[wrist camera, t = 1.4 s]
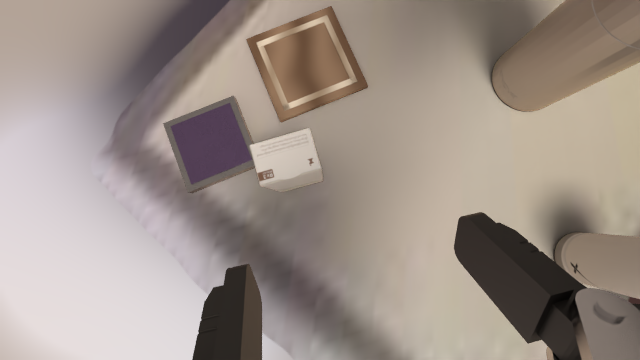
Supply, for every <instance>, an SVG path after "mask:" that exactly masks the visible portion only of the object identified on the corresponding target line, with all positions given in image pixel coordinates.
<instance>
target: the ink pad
mask: <svg viewBox="0 0 640 360" xmlns="http://www.w3.org/2000/svg"><path fill="white" fill-rule="evenodd" d="M163 124H164V127H165V130H166V132H167V135H168V138H169V141H170V144H171V146H172V149H173V152H174V155H175V158H176V160H177V163H178V166H179V169H180V172H181V174H182V177H183V180H184V183H185V186H186V188H187V191H188V193H194V192H197V191H199V190H202V189H204V188H206V187H209V186H211V185H214V184H216V183H219V182H221V181H224V180H226V179H228V178H231V177H233V176H236V175H238V174H241V173H243V172H246V171H248V170H250V169H253V168H255V165H254V161H253V157H252V154H251V150H250V145H251V144H254V143H253V141H252V138H251V135H250V133H249V130H248V128H247V125H246V123H245V120H244V118H243V115H242V113H241V110H240V108H239V105H238V103H237V100H236V98H235V97H234V96H231V97H229V98H226V99H224V100H221V101H219V102H216V103H214V104H211V105H209V106H206V107H204V108H201V109H199V110H196V111H194V112H191V113H189V114H186V115H184V116H181V117H179V118H176V119H173V120H171V121H168V122H166V123H163Z"/></svg>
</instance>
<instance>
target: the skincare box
mask: <svg viewBox="0 0 640 360" xmlns="http://www.w3.org/2000/svg"><path fill="white" fill-rule="evenodd" d="M250 150H251V154H252V157H253V161H254V165H255V169H256V173H257V177H258V181H259V185H260V186H261V187H265V188H269V189H272V190H276V191H279V192H285V191H289V190H292V189H296V188H300V187H303V186H307V185H311V184H314V183H318V182H322V181H323V172H322V166H321V163H320V160H319V157H318V154H317V150H316V147H315V143H314V140H313V136H312V132H311V129H310V128H306V129H302V130H299V131H296V132H292V133H289V134H285V135H282V136H279V137H275V138H272V139H268V140H265V141H262V142H258V143H255V144H251V145H250Z"/></svg>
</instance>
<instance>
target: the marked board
mask: <svg viewBox="0 0 640 360" xmlns="http://www.w3.org/2000/svg"><path fill="white" fill-rule="evenodd" d="M246 40H247V42H248V45H249V47H250V49H251V52H252V54H253V57H254V59H255V61H256V64H257V66H258V69H259V71H260V74H261V76H262V78H263V81H264V83H265V86H266V88H267V91H268V93H269V95H270V98H271V100H272V103H273V105H274V107H275V110H276V112H277V115H278V117H279V120H280V122H283V121H286V120H288V119H291V118H293V117H296V116H298V115H301V114H303V113H305V112H308V111H310V110H313V109H315V108H318V107H320V106H323V105H325V104H328V103H330V102H333V101H335V100H338V99H340V98H343V97H345V96H348V95H350V94H353V93H355V92H357V91H360V90H362V89H365V88H367V87H368V85H367V83H366V80H365V78H364V76H363V74H362V72H361V70H360V67H359V65H358V63H357V61H356V59H355V57H354V54H353V52H352V50H351V48H350V46H349V44H348V41H347V39H346V37H345V35H344V33H343V31H342V28H341V26H340V24H339V22H338V20H337V18H336V15H335V13H334V11H333V9H332V7H331V6H330V7H328V8H325V9H323V10H320V11H317V12H315V13H312V14H310V15H307V16H305V17H302V18H299V19H297V20H294V21H292V22H289V23H287V24H284V25H281V26H279V27H276V28H274V29H271V30H269V31H266V32H264V33H261V34H258V35H256V36H253V37H251V38H248V39H246Z"/></svg>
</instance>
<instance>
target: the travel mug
mask: <svg viewBox="0 0 640 360" xmlns="http://www.w3.org/2000/svg"><path fill="white" fill-rule="evenodd" d="M555 261H556V264H558V265H559V266H560V267H561V268H563V269H564V270H565V271H566V272H568V273H569V274H570V275H571V276H572V277H574V278H575V279H576V280H577V281H579V282H580V283H582V284H587V285H590V286H593V287H597V288H601V289H604V290H608V291H612V292H615V293H619V294H623V295H627V296H631V297H634V298H638V299H640V237H635V236H621V235H608V234H594V233H581V232H574V233H570V234H567V235H565V236H564V237H563V238H561V240H560V241H559V242H558V244H557V245H556V249H555Z"/></svg>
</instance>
